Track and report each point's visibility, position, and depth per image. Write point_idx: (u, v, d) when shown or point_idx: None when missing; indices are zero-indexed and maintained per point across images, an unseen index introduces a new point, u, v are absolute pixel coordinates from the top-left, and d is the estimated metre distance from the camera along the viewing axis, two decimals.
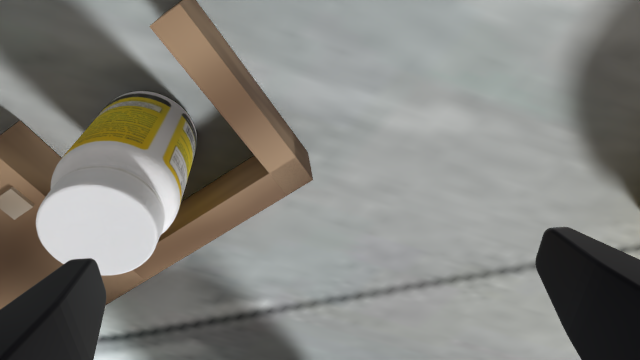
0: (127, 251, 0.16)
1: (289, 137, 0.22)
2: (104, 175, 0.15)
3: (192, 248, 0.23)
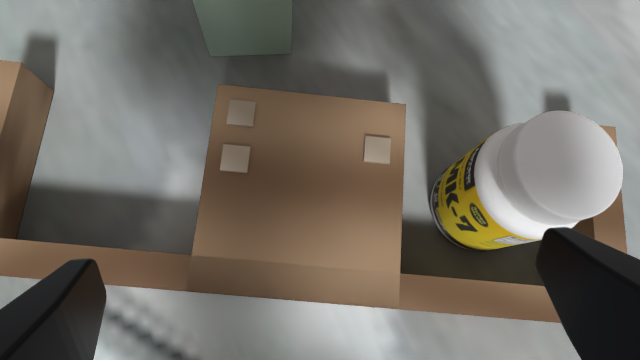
0: (579, 196, 0.15)
1: None
2: None
3: (474, 310, 0.19)
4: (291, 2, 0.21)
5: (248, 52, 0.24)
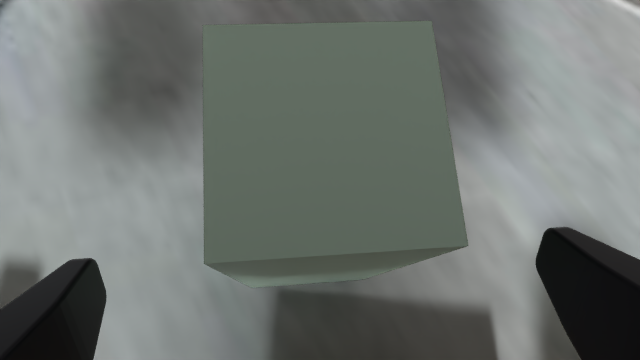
0: None
1: None
2: None
3: None
4: (384, 272, 0.14)
5: (304, 283, 0.18)
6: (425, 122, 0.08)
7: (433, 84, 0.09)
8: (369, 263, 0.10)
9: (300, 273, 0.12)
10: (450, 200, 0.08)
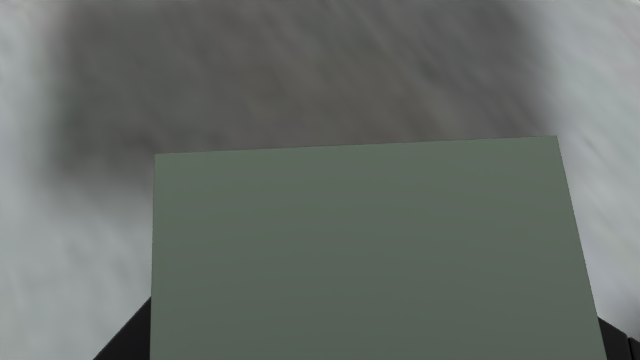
0: None
1: None
2: None
3: None
4: None
5: None
6: (561, 338, 0.05)
7: (570, 259, 0.05)
8: None
9: None
10: None
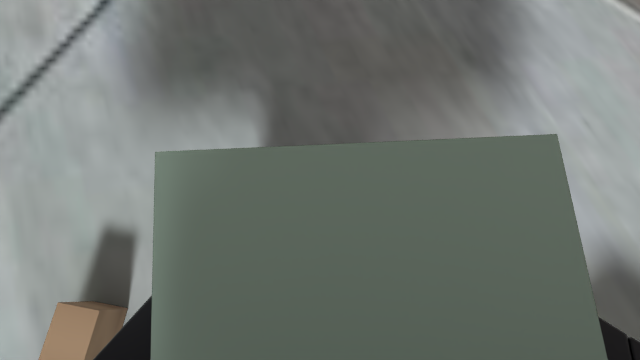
0: None
1: None
2: None
3: None
4: None
5: None
6: (561, 336, 0.05)
7: (570, 258, 0.05)
8: None
9: None
10: None
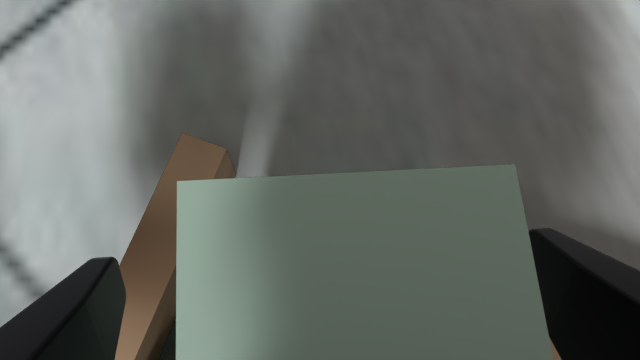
0: None
1: None
2: None
3: None
4: None
5: None
6: (514, 334, 0.05)
7: (523, 269, 0.06)
8: None
9: None
10: None
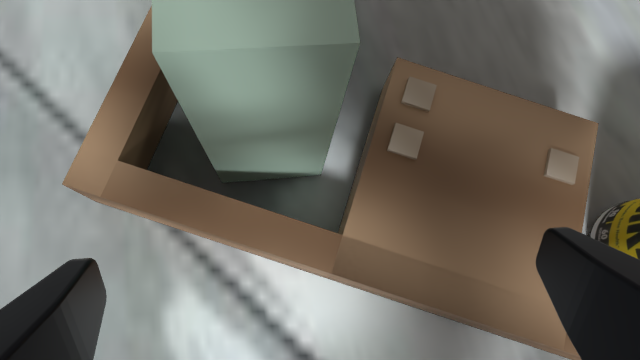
0: None
1: None
2: None
3: None
4: (329, 141, 0.16)
5: (268, 177, 0.20)
6: None
7: None
8: (298, 94, 0.12)
9: (249, 123, 0.14)
10: (347, 11, 0.10)
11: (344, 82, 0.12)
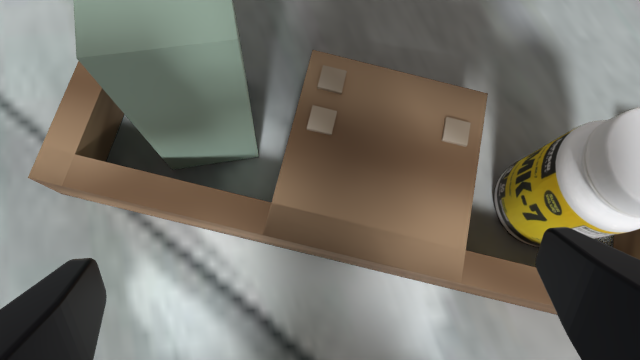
0: None
1: None
2: None
3: (534, 296, 0.20)
4: (251, 124, 0.19)
5: (212, 161, 0.23)
6: None
7: None
8: (207, 84, 0.15)
9: (175, 111, 0.17)
10: (227, 15, 0.13)
11: (240, 71, 0.15)
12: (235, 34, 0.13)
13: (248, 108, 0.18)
